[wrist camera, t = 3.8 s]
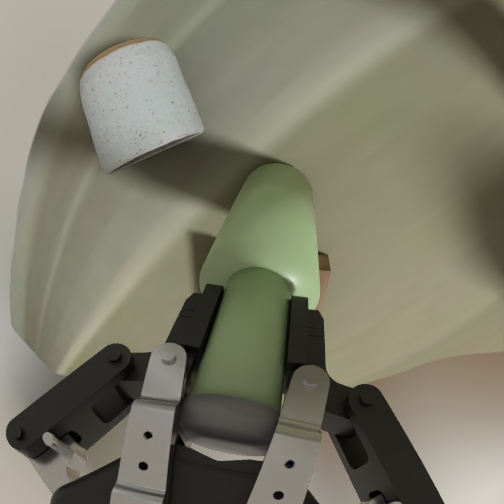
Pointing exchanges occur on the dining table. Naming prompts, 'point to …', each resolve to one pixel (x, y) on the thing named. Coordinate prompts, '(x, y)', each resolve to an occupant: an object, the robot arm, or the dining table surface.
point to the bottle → (253, 311)
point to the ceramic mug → (136, 103)
